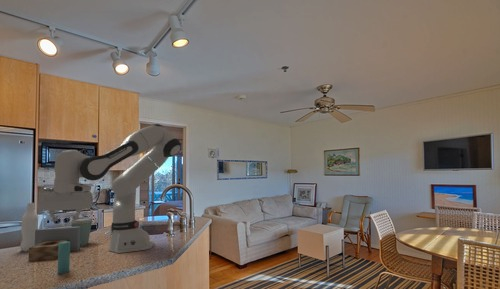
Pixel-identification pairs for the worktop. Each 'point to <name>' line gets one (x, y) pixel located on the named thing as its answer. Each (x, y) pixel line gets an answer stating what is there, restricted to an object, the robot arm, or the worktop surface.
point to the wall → (60, 236)
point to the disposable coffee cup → (83, 228)
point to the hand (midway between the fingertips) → (65, 220)
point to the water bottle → (29, 227)
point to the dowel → (63, 257)
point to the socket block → (45, 250)
